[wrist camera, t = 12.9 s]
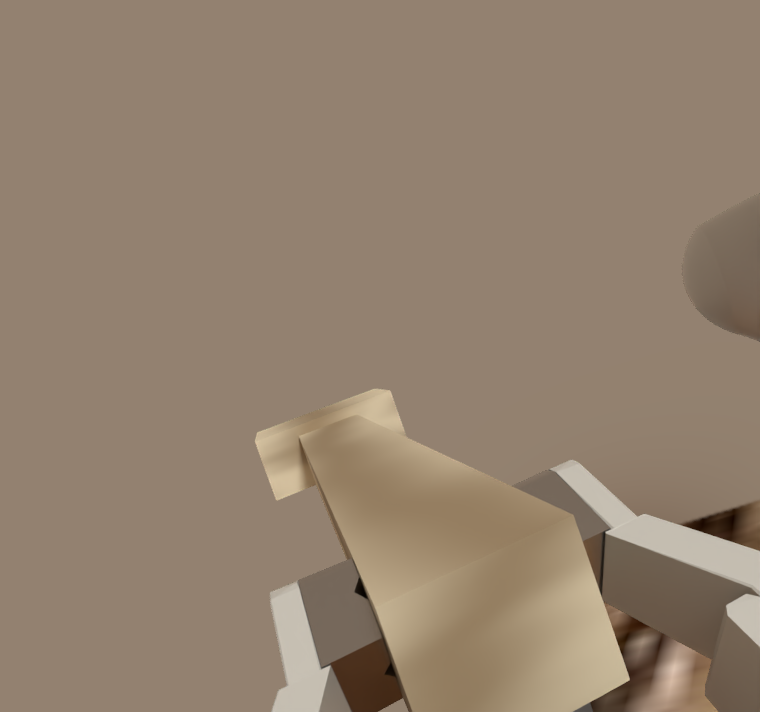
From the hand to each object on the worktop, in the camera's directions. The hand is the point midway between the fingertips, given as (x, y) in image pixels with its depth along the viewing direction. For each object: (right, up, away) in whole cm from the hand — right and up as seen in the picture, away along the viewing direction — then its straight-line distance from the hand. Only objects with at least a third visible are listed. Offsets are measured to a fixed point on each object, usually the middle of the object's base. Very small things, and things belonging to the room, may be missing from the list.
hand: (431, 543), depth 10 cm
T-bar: (-1, -2, +8) cm, 8 cm away
